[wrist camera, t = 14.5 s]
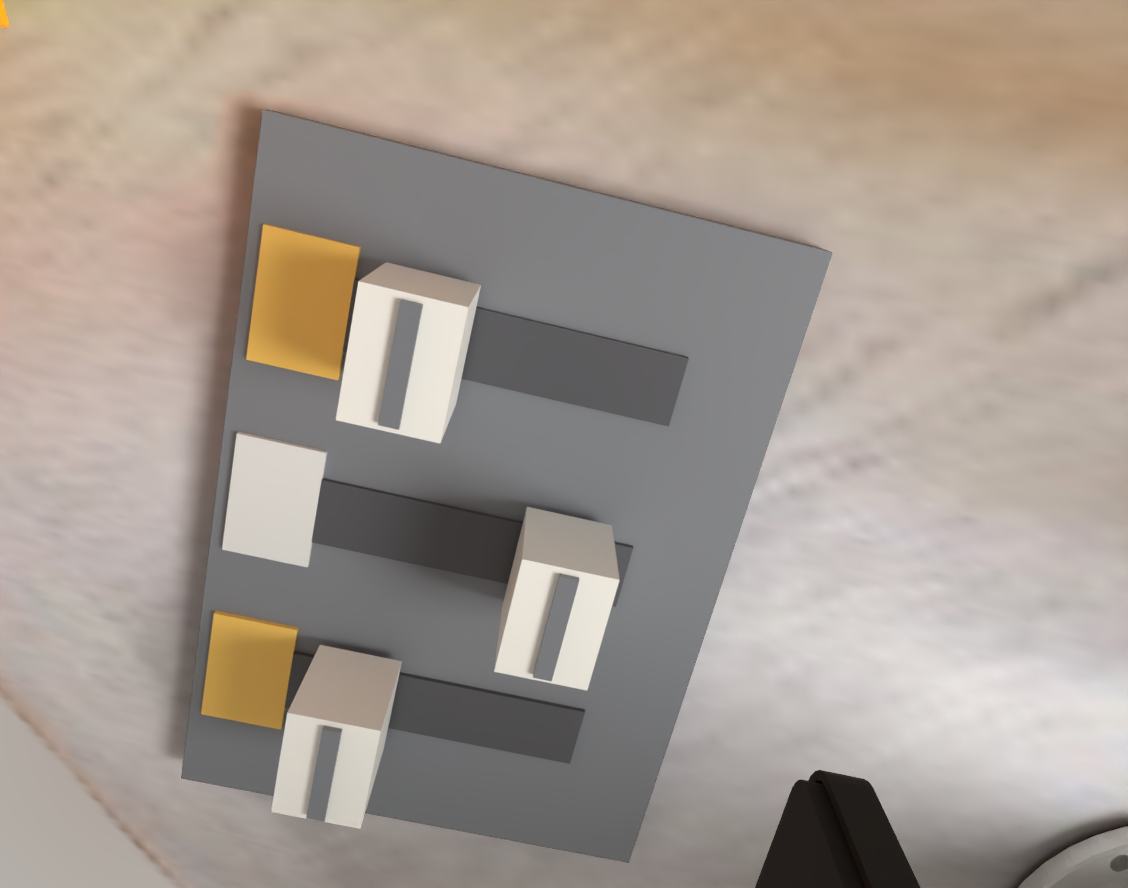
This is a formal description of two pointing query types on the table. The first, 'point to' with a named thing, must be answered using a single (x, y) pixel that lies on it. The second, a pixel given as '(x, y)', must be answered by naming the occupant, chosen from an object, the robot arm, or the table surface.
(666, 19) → the table surface
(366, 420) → the slider
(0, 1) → the orange juice
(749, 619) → the table surface
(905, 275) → the table surface
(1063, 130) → the table surface
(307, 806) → the slider
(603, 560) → the slider
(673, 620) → the switch unit
